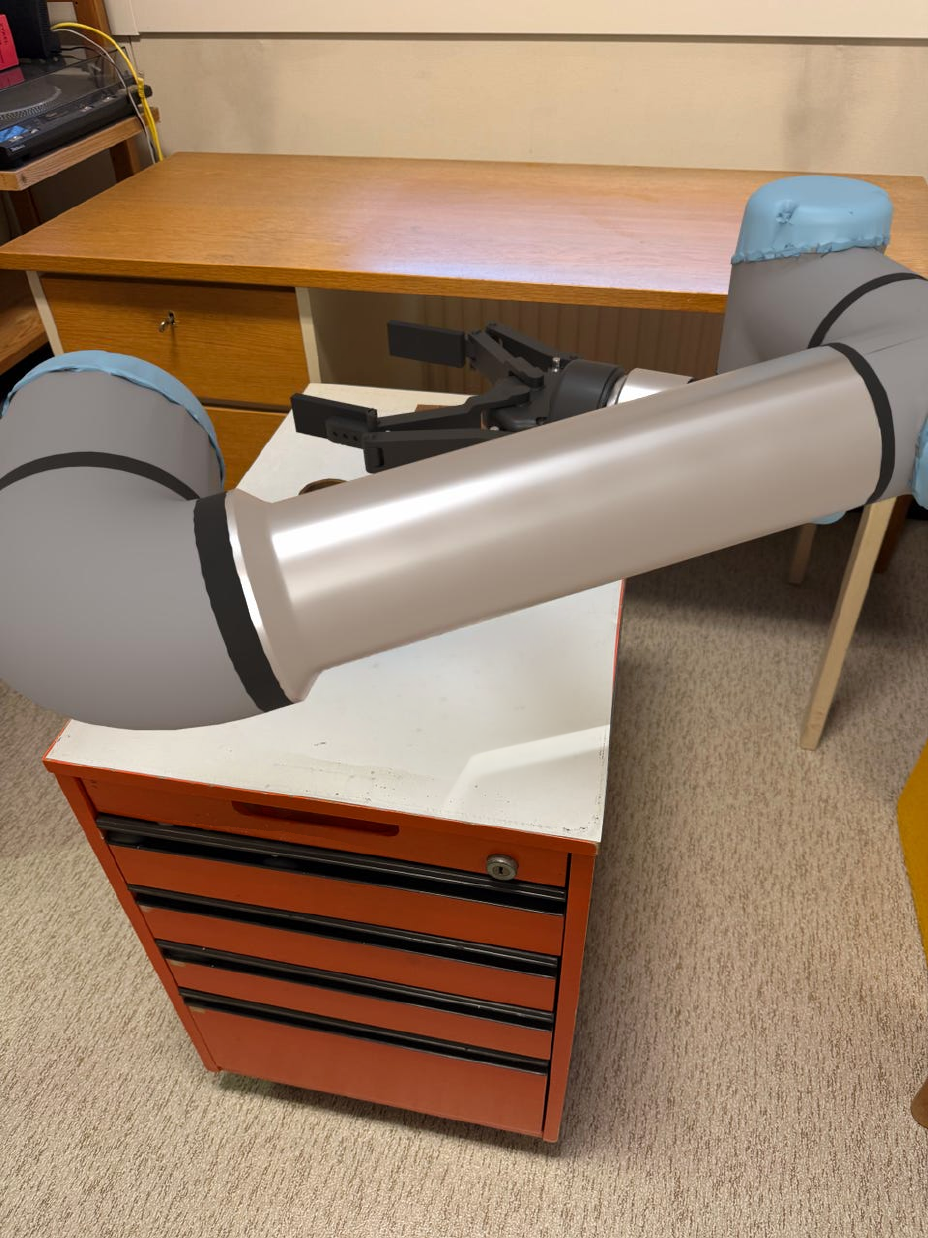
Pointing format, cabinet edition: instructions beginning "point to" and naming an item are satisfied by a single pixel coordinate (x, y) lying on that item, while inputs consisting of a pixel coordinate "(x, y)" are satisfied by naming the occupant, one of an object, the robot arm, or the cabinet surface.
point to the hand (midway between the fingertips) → (345, 372)
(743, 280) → the robot arm
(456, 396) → the cabinet surface
